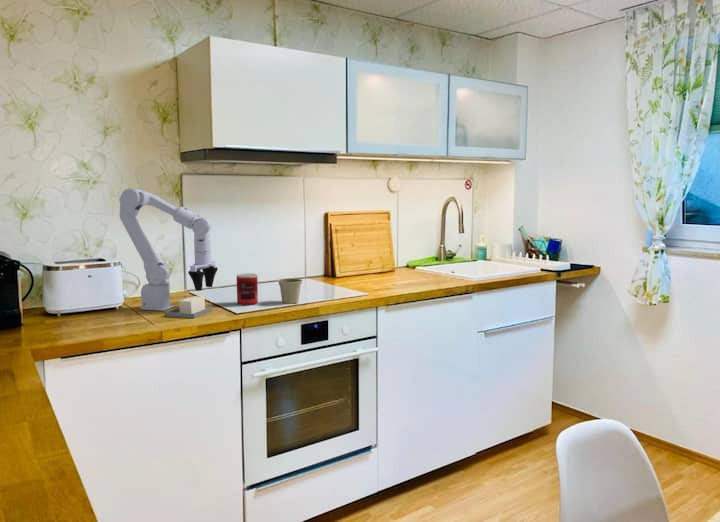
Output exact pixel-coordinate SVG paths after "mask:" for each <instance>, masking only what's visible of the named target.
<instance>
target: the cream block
mask: <svg viewBox="0 0 720 522" xmlns="http://www.w3.org/2000/svg"><path fill="white" fill-rule="evenodd" d="M178 302H179V304H178V305H179V307H180V313H190V314H193V313H196V312H199V311H201V310H204V309H206V306H205V302H206V300H205V296H196V295H194V296H190V297H189V296H188V297H187V298H184V299H181V300H179V301H178Z"/></svg>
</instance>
